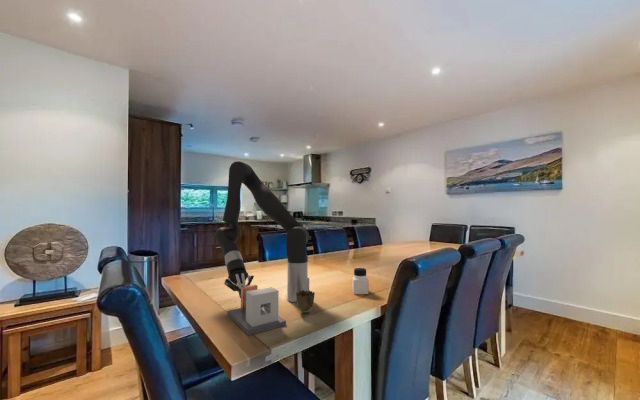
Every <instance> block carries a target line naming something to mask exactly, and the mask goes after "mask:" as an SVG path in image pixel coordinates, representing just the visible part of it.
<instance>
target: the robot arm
mask: <svg viewBox="0 0 640 400" xmlns="http://www.w3.org/2000/svg"><path fill="white" fill-rule="evenodd" d="M227 181H228V183H227V195H226V201H225V202H226V203H225V208H224V211H223V217H222V220H223V222H224V223H225V224H228V225H230V227H218V228H217V230H216V231H215V234H214V236H215V240H216V243H218V245H219V247H220V249H221V250H222V252H223V256H224V262H225V263H224V264H225V267H226V271H227V274H228V277H227V278H225V280H224V282H223V284H224V285H225V286H226V287H227V288H228V289H230V290H231V291H233V292H237V293H238V295H239V298H240V299H241V287H243V286H249V285H252V281H253V279H254V278H255V276H254V275H253V274H252V275H250V274H249V273H248V272H247V270H246V269H247V268H246V265H245V262H244V259H243V256H242V254H241V251H240V247H239V245H238V243H237V241H238V240H239V218H240V217H239V216H240V213H241V203H242V202H241V188H242V184H243V185H244V186H245V187H246V188H247V189H248V190H249V191H250V192H251V195H252V197H253V198H254V201H255V202H256V205H257V206H258V207H259V208H260V210H262V212H263V213H264V214H265V215H266V216H267V217H268V218H269V219H271V220H273V221H274V222H275V223H276V224H278V225H279V226H280V227H281V228H282V229H283V230H284V231H285V232H286V237H285V238H286V239H285V250H286V252H285V253H286V258H287V290H286V291H287V295H286V297H287V301H288V302H291V303H297V297H296V292H297V293H299V291H302V290H304V291H305V292H306V291H308V292H309V291H310V278H309V277H308V276H309V274H308V272H309V271H308V270H309V269H308V267H309V266H308V262H309V261H308V259H309V258H308V255H307V243H308V242H309V238H310V235H309V232H308V231H309V230H307V228H306V227H304V226H303V224H301V223H300V222H299V221H298V220H297V219H296V218H294V216H293V215H292V214H291V213H290V211H289V210H288V208H286V206H285V205H284V204H283V203H282V201H281V200H280V199H279V198H278V197H277V196H276V195H275V194H274V192H272V191H271V189H270V188H269V187H267V185H266V184H264V182H263V181H262V180H261V179H260V177H259V176H258V175H257V173H256V171H254V169H253V167H252V166H250V165H249V164H248V163H245V162H244V161H241V160H235V161H233V162H232V163H231V164H230V166H229V168H228V180H227ZM246 280H247V284H246Z"/></svg>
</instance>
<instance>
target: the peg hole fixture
mask: <svg viewBox="0 0 640 400" xmlns="http://www.w3.org/2000/svg"><path fill="white" fill-rule="evenodd" d="M261 304H264V306H263V308H262V309H261ZM227 316H228V317H229V318H230V319H231V320H232V321H233V322H234V323H235V324H236V325H238V327H240V329H241V330H243V332H244V333H246V335H247V336H251V335H254V334H255V335H256V334H258V333H262V332H267V331H269V330H273V329H277V328H279V327H284V326H287V320H286V319H284V318H283V317H281V316H280V315H279V290H278V289H276V288H273V287H272V286H270V287H269V286H268V287H263V288H257V290H252V291H246V311H243V312H242V311H241V307H239V308H235V309H231V310H227Z"/></svg>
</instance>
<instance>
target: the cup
mask: <svg viewBox="0 0 640 400" xmlns="http://www.w3.org/2000/svg"><path fill="white" fill-rule="evenodd" d="M315 293H316V292H315V291H312V290H309V292H308V291H306V292H305V291H304V290H302V291H299V293H297V292H296V297H297V302H296V303H297V307H298V309H300V312H301V314H304V315H307V314H310V312H311V310H310V309H312V308H313V305H314V303H315V302H314V301H315Z"/></svg>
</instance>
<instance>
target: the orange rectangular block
mask: <svg viewBox="0 0 640 400" xmlns="http://www.w3.org/2000/svg"><path fill="white" fill-rule="evenodd" d="M257 289H258V285H257V284H250V285H249V286H243V287H241V298H240V308H241V311H242V312H243V311H246V291H252V290H257ZM263 306H264V304H261V309H262V308H263Z"/></svg>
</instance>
